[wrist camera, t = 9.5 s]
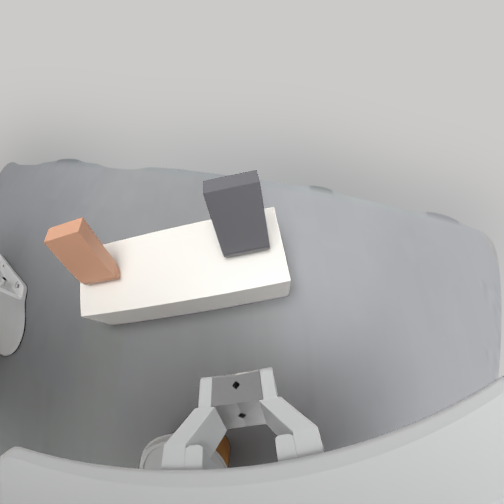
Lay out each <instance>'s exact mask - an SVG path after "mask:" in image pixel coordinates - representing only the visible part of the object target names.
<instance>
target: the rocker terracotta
mask: <svg viewBox="0 0 504 504" xmlns="http://www.w3.org/2000/svg"><path fill="white" fill-rule="evenodd" d="M44 243H45V244H46V245H47V246H48V248H49V249H50V250H51V251H52V252H53V253H54V254H55V256H56V257H57V258H58V259H59V260H60V261H61V262H62V263H63V264H64V266H65V267H66V268H67V269H68V270H69V271H70V272H71V273H72V274H73V275H74V276H75V277H76V278H77V279H78V280H79V281H80V282H81V283H83V284H84V285H88V284H93V283H98V282H103V281H108V280H113V279H118V278H119V277H120V270H119V267H118V266H117V265H116V264H117V263H116V262H115V260H114V259H113V258H112V256H111V255H110V254H109V253H108V251H107V250H106V249H105V247H104V246H103V245H102V243H101V242H100V240H99V239H98V238H97V236H96V235H95V234H94V232H93V231H92V229H91V228H90V227H89V225H88V224H87V222H86V221H85V220H84V218H83V217H82V218H79V219H76V220H73V221H70V222H67V223H64V224H61V225H58V226H55V227H52V228H49V230H48V233H47V235H46V238H45V241H44Z"/></svg>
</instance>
